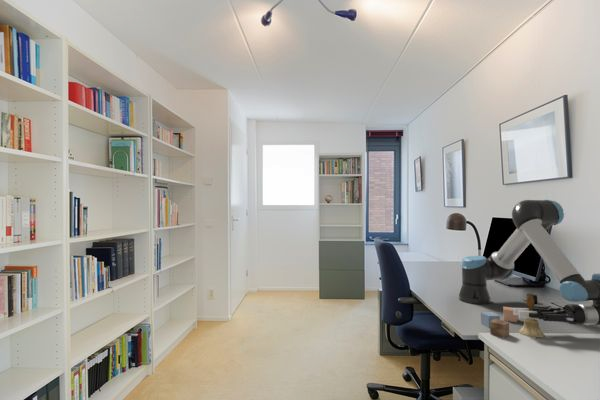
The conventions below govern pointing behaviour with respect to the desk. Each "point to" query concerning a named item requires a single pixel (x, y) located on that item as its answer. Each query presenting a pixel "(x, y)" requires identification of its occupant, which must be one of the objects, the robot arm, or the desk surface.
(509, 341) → the desk surface
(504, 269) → the robot arm
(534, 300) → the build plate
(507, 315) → the terracotta block
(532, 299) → the hand bell
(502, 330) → the walnut block
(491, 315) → the slate-blue block
